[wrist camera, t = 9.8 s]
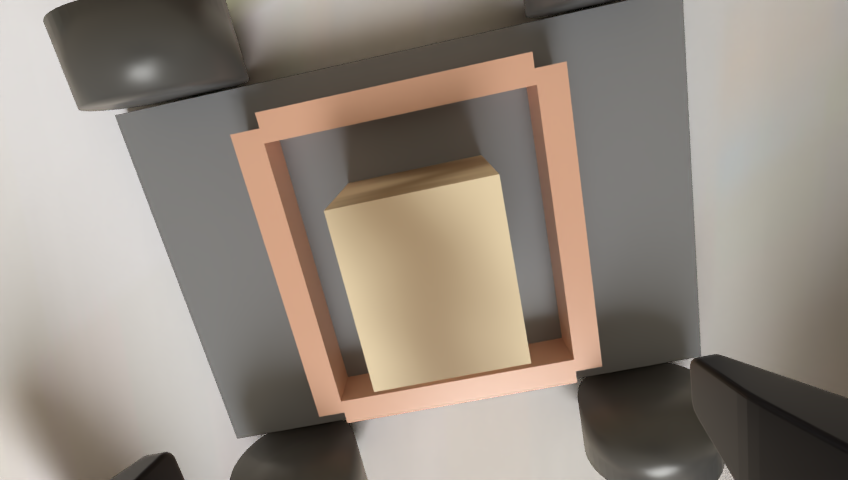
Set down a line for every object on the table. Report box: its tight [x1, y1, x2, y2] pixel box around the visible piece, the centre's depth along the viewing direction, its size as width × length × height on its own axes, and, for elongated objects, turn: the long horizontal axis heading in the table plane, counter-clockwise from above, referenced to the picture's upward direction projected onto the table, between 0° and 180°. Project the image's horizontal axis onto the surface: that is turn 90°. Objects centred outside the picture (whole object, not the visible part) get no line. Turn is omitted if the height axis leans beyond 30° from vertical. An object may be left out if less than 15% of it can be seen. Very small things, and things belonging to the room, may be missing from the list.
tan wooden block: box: [324, 155, 531, 392], centre depth 16 cm, size 5×6×4 cm
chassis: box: [43, 0, 724, 480], centre depth 17 cm, size 20×19×5 cm
